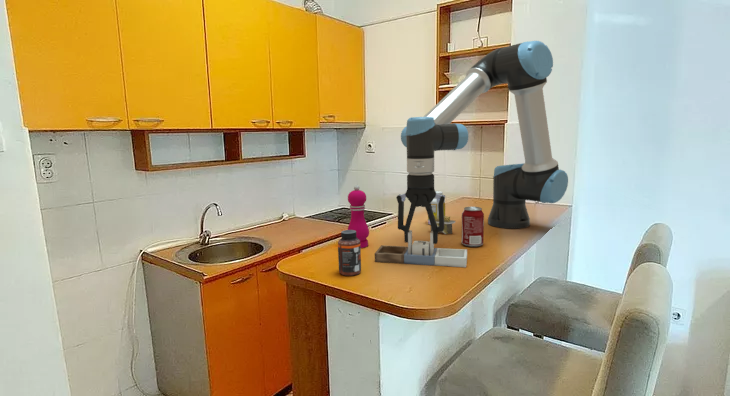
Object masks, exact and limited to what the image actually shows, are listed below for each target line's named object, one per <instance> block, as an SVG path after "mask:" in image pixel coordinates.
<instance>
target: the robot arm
mask: <svg viewBox="0 0 730 396" xmlns="http://www.w3.org/2000/svg"><path fill="white" fill-rule="evenodd" d="M553 67H554V59H553V55H552V52H551V50H550V48H549V47H548V45H546V44H545V43H544V42H543V41H540V40H530V41H523V42H520V43H516V44H513V45H509V46H504V47H498V48H496V49H493V50H492V51H490V52H489V53H487V54H486V55H484V56H483V57H482V58H480V60H478V61H477V62H476V63H474V64H473V65H472V66H471V67H470V68H469V69H468V70H467V71H466V74H465V77H464V78H463V79H462V80H461V81H460V82H459V83H458V84H456V85H455V86H454V87H453V88H452V89H451V90H450V91H449V92H448V93H446V95H445V96H444V97H442V99H441V100H439V101H438V103H436V104H435V105H434V106H433V107H432V108H431V109H430V110H429V111H428V112H427V113H426V114H425V115H424V116H414V117H413V116H411V117H409V118H408V119H407V120H406V126H405V127H404V128H403V129H402V131H401V133H400V141H401V143H402V145H403V146H404V147H405V148H406V172H407V173H408V174H407V176H406V191H405V193H402V194H399V193H398V195H396V201H397V203H398V204H397V205H398V206H397V207H398V208H397V209H398V211H397V229H398V230H399V231H400V230H401V231H403V233H404V234H403V235H404V236H403V237H404V238H403V240H404V241H403V242H404V243H407V247H408V255H411V254H412V244H413V230H410V229H411V224H412V221H413V217H414V215H415V211H416V208H418V207H422V208H425V211H426V213H427V218H428V217H429V220H430V224H431V225H430V228H431V227H432V230H433V231H431V230H430V233H429V235H430V237H429V238H430V240H429V241H430V256H432V255H433V252H434V248H435V245H436V244H438V241H439V240H438V239H439V233H438V232H440V231H443V230H444V206H443V203H444V200H445V199H446V195H444V194H443V195H439V194H436V192H435V191H436V190H435V174H434V172H435V152H438V151H439V152H440V151H457V150H461V149H463V148H465V147H466V145H467V144H468V142H469V131H468V128H467V127H466V126H465V125H464V124H462V123H455V122H454V123H452V122H453V121H454V120H455V119H456V118H457V117H458V116H460V114H461V113H463V112H464V111H465V110H466V108H468V106H470V105H471V104H472V103H473V102H474V101H475V100H476V99H477V98H478V97H479V96H480V95H481V94H485V93H488V92H489V90H490V89H492V88H493V87H495V86H499V85H504V84H507V87H508V89H507V90H508V92H510V93H512V94H513V95H514V100H515V101H514V102H515V107H516V113H517V119H518V125H519V126H518V127H519V131H520V137H521V144H522V150H523V155H524V156H523V157H524V163H515V164H514V163H513V164H504V165H496V166H495V168H494V170H493V176H492V178H493V179H492V180H493V181H492V183H493V184H492V187H493V189H492V190H493V191H492V192H493V193H492V194H493V195H492V196H493V199H492V200H493V201H492V202H493V203H492V207H491V209H490V212H489V215H488V217H487V218H488V219H487V224H488V225H489V226H491V227H495V228H502V229H524V228H529V227H530V224H531V219H530V215H529V212H528V209H527V205H526V201H532V202H537V203H541V204H546V203H547V204H555V203H558V202H559V201H561V199H562V198H563V197H564V196H565V193H566V192H567V188H568V186H569V176H568V173H567V172H566V171H565V170H563V169H560V168H559V162H558V160H556V159H554V158H553V154H552V146H551V139H550V134H549V133H550V132H549V125H548V118H547V110H546V104H545V103H546V102H545V96H544V90H543V88H544V87H545V85H546V84H547V83H548V79H547V78H548V77H549V76H550V75H551V73H552V72H553ZM406 198H407V200H408V201H409V203H410V207H409V210H408V214H407V218H406V221H405V225H404V219H405V218H404V217H405V216H404V214H405V212H404V211H405V201H406ZM434 198H436V199H437V202H438V203H439V204H438V211H439V226H438V227H437V224H436V220H435V217H434V214H433V211H432V206H431V202H432V200H433V199H434ZM445 201H446V200H445Z"/></svg>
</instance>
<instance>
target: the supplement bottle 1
mask: <svg viewBox="0 0 730 396" xmlns="http://www.w3.org/2000/svg"><path fill="white" fill-rule="evenodd" d="M356 236H357V235H356V231H355V230H348V229H344V230H342V231H341V232H340V237H341V238H340V239H339V240H338V241H337V256H338V257H337V258H338V260H337V261H338V272H339V274H341V275H343V276H345V277H347V276H348V277H349V276H357V275H359V274H361V272H362V258H361V257H362V256H361V255H362V254H361V253H362V252H361V250H362V248H361V246H360V240H359V239H358V238H357V237H356Z"/></svg>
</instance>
